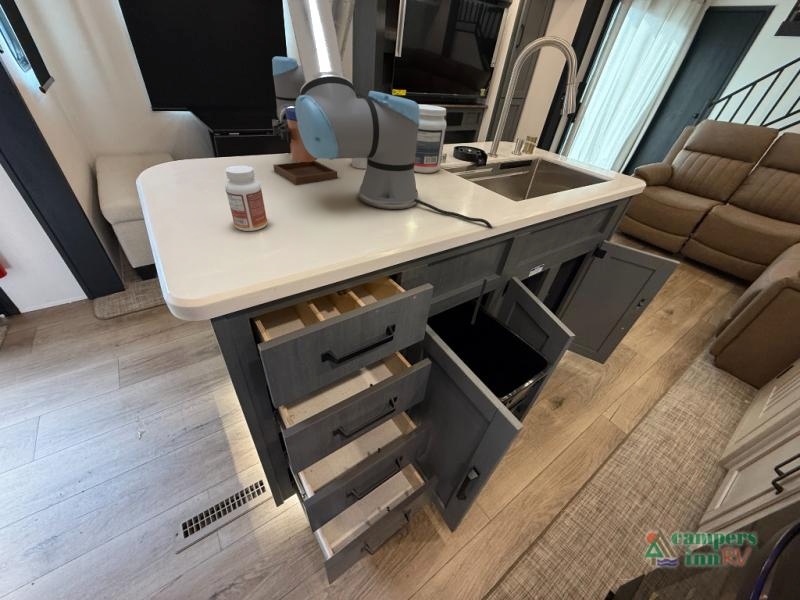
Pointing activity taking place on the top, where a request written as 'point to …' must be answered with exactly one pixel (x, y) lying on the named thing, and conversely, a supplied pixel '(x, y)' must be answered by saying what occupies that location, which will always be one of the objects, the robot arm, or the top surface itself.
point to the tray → (305, 172)
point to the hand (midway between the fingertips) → (305, 137)
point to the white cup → (359, 162)
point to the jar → (298, 144)
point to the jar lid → (291, 113)
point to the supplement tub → (430, 138)
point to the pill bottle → (245, 198)
